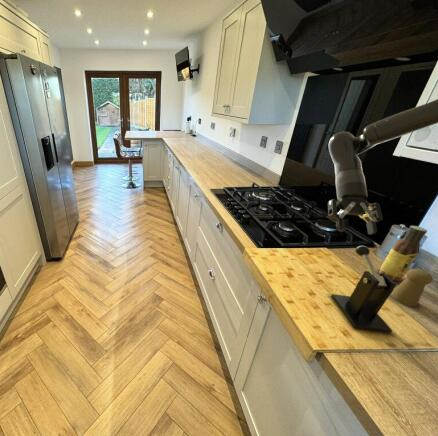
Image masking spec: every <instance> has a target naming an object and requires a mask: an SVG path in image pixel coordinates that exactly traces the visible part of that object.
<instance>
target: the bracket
mask: <svg viewBox="0 0 438 436" xmlns="http://www.w3.org/2000/svg"><path fill="white" fill-rule="evenodd" d="M378 276H383V278H384V280H385V282H386V284H387V286H386V287H384V288H383V289H376V287H377V286H378V284H379V283H380V281H378V280H377V279H376V278H375V277H374V276H373V275H372V274H371V273H370V272H369V271H368V270H364V272H363V273H362V275H361V277H360V279H359V280H358V282H357V283H356V285H355V287H354V290H353V291H352V292H351V295H350V296H349V295H341V294H335V293H332V294H331V296H330V298H331V299H332V301H333V302H334V303H335V304H336V306H337V307H338V309H339V310H340V311H341V313H342V314H343V315H344V317H345V318H346V319H347V321H348V322H349V323H350V326H352V328H353V329H357V330H363V331H370V332H377V333H384V334H390V335H391V334H392V332H393V329H392V328H391V327H390V326H389V325H388V324H387V323H386V322H385V321H384V320H383V318H382V317H381V316H380V314H378V313H379V312H380V310H381V309H382V307H383V306H384V305H385V303H386V302H387V300H388V299H389V297H390V296H391V293H392V292H393V291H394V290H395V289H396V287H397V285H398V284H397V283H396V281H395V280H392V279H391V278H389V277H388V276H387V275H386V274H385V273H379V275H378Z"/></svg>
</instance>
